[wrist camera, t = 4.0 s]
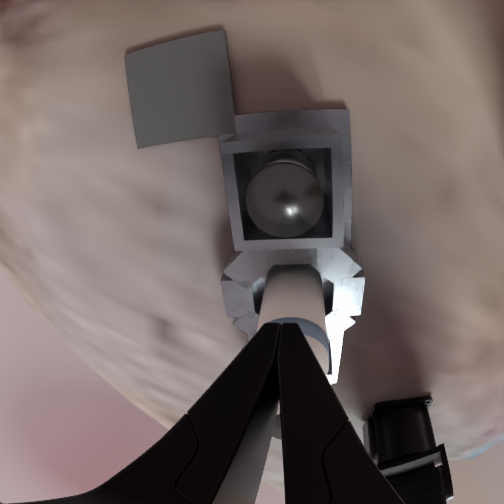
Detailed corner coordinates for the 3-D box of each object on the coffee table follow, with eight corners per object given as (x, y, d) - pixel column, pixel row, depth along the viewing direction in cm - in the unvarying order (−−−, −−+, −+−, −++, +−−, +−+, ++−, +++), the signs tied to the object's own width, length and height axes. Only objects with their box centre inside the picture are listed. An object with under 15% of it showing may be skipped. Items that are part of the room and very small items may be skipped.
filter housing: (360, 109, 14) (382, 112, 10) (344, 379, 24) (347, 419, 20) (205, 119, 15) (177, 125, 12) (248, 379, 25) (240, 418, 21)
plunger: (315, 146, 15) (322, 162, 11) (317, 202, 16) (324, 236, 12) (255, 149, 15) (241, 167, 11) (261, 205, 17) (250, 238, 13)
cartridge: (323, 257, 18) (332, 340, 12) (322, 306, 20) (327, 391, 13) (262, 259, 19) (244, 341, 12) (267, 307, 20) (253, 391, 14)
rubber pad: (225, 30, 13) (223, 29, 12) (237, 132, 15) (236, 133, 15) (127, 55, 14) (124, 55, 13) (140, 147, 16) (137, 148, 16)
